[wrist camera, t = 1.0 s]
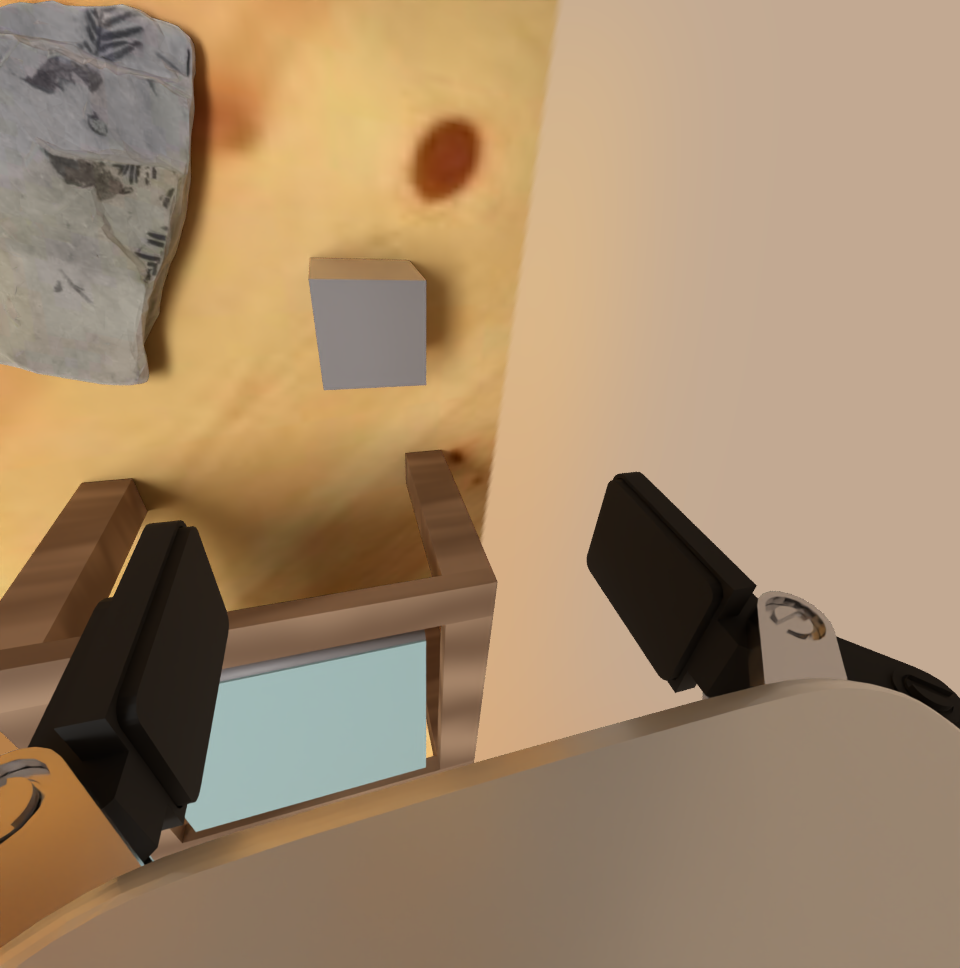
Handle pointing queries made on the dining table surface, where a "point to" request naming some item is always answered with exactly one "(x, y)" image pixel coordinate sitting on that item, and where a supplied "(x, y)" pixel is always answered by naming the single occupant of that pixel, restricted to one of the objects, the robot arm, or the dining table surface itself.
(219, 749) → the trapdoor
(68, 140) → the fossil rock
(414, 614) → the trapdoor frame
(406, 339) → the gray cube
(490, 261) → the dining table surface
